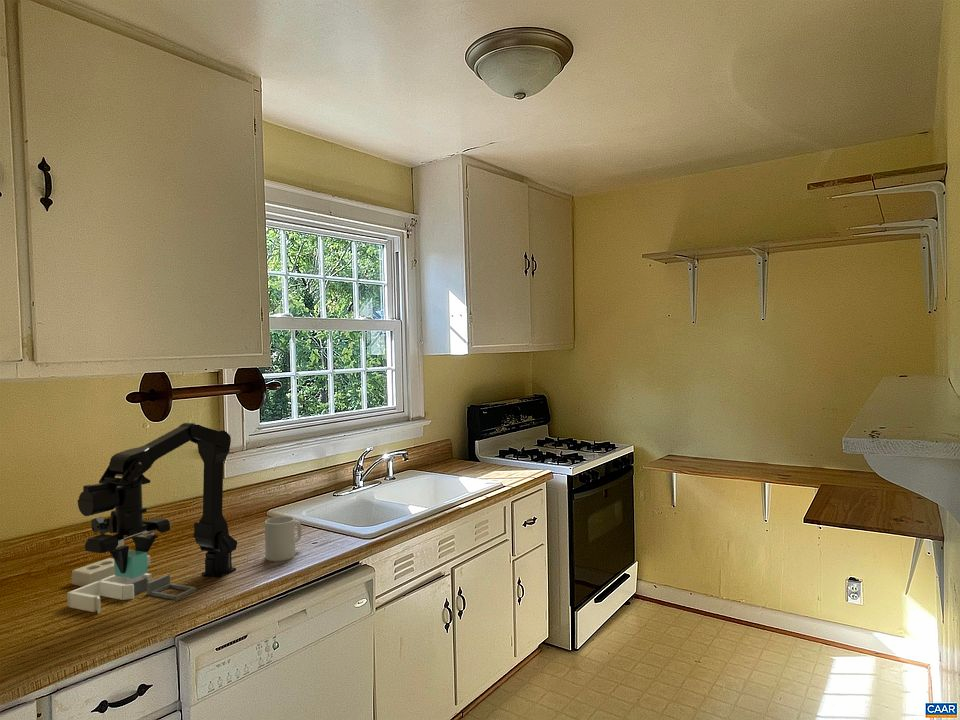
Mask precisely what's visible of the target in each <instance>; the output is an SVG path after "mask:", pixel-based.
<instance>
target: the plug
mask: <svg viewBox="0 0 960 720" xmlns="http://www.w3.org/2000/svg"><path fill="white" fill-rule="evenodd" d="M147 555H148V553H147V552H143V551H136V550H135V549H129V550H128V558H127V567H126V571H125V573H124V574H123V573H120V571H119V568H118V566H117V564H116V562H115V560H114V568H115V576H121V577H126V578H132V579H133V578H136V577H138V576H140V575H143V574H145V573H148V571H149V570H148V566H147Z"/></svg>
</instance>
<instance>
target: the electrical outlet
mask: <svg viewBox="0 0 960 720" xmlns="http://www.w3.org/2000/svg"><path fill="white" fill-rule="evenodd" d="M151 557H152V556H151V555H149V554H147V567H150V566H151V564H152V563H151V560H152V559H151ZM112 575H115V568H114V558H113V557H108V558H104V559H103V560H99V561H96V562H92V563H90V564H87V565H84V566H81V567H77V568H75V569H72V571H71V583H72V585H74V586H80V587H83V586H86V585H88V584H91V583H94V582H96V581H99V580H102V579H104V578H107V577H109V576H112Z"/></svg>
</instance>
